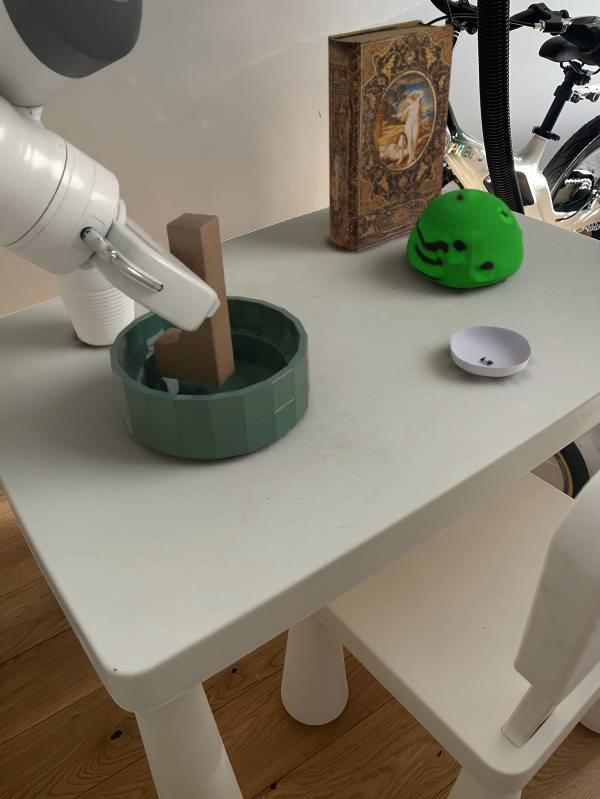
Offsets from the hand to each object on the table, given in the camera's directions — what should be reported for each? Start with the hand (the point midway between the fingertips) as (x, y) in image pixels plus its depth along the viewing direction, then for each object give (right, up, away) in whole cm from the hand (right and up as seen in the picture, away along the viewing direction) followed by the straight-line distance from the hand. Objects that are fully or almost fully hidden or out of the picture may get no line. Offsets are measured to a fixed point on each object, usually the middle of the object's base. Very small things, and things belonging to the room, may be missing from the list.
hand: (197, 293), depth 64 cm
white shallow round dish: (+28, -6, +10) cm, 30 cm away
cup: (-12, -2, +17) cm, 21 cm away
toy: (+29, +7, +27) cm, 40 cm away
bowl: (+1, -10, +5) cm, 11 cm away
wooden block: (-1, -7, +5) cm, 9 cm away
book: (+20, +14, +37) cm, 45 cm away
